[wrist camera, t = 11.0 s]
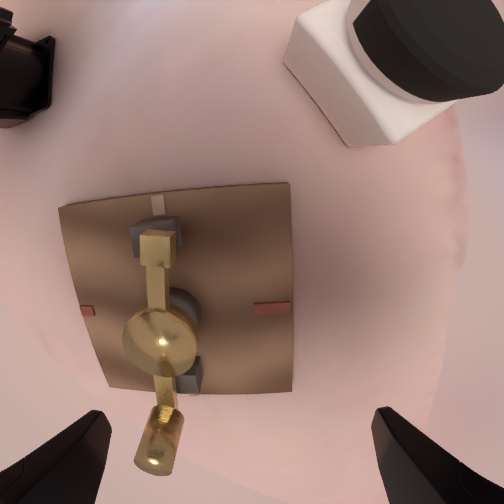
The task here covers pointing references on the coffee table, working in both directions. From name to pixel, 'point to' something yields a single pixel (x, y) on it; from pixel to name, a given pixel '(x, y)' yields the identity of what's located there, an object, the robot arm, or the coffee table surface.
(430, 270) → the coffee table surface
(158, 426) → the crank handle
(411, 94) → the medicine bottle
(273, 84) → the coffee table surface
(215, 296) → the post base
